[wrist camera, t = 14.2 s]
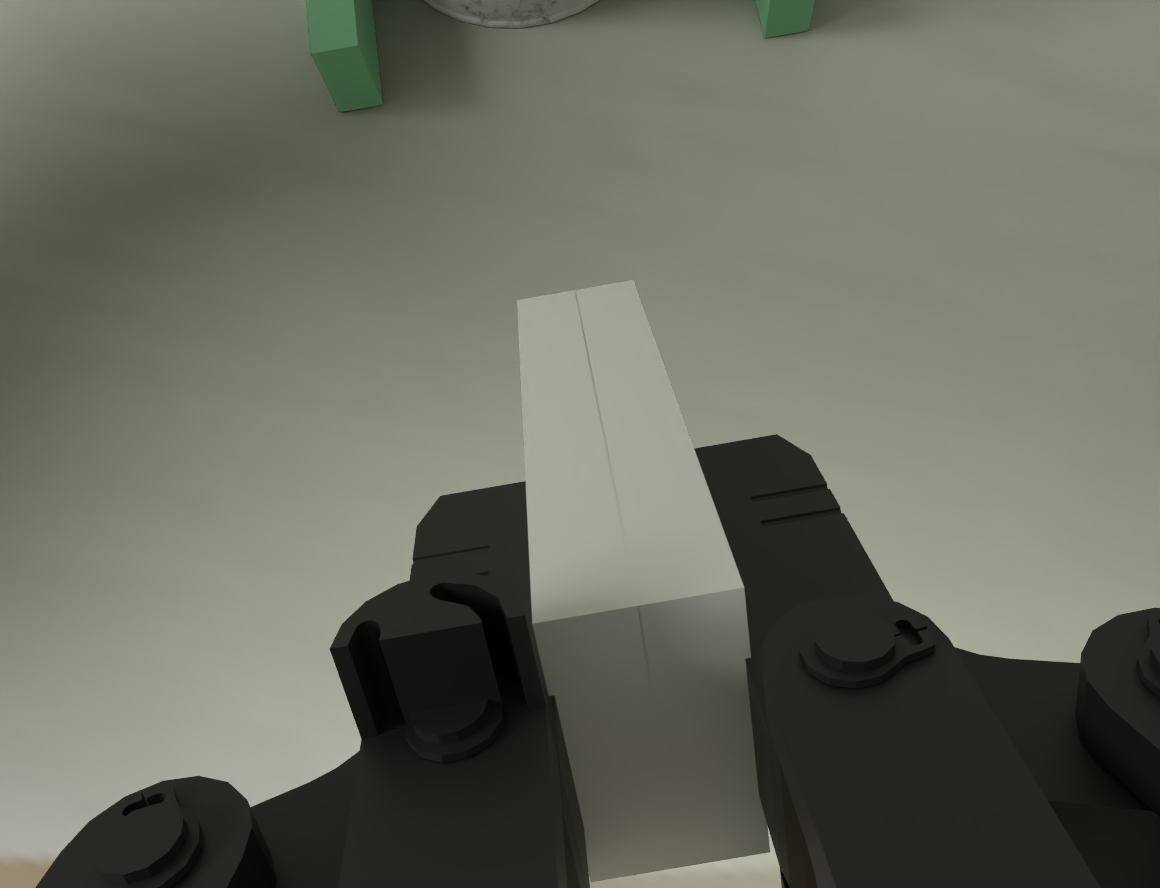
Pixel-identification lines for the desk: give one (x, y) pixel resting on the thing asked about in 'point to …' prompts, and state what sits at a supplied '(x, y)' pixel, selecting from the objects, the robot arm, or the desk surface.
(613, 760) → the robot arm
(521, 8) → the speckled concrete drum
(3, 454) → the desk surface
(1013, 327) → the desk surface
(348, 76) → the green angular frame
